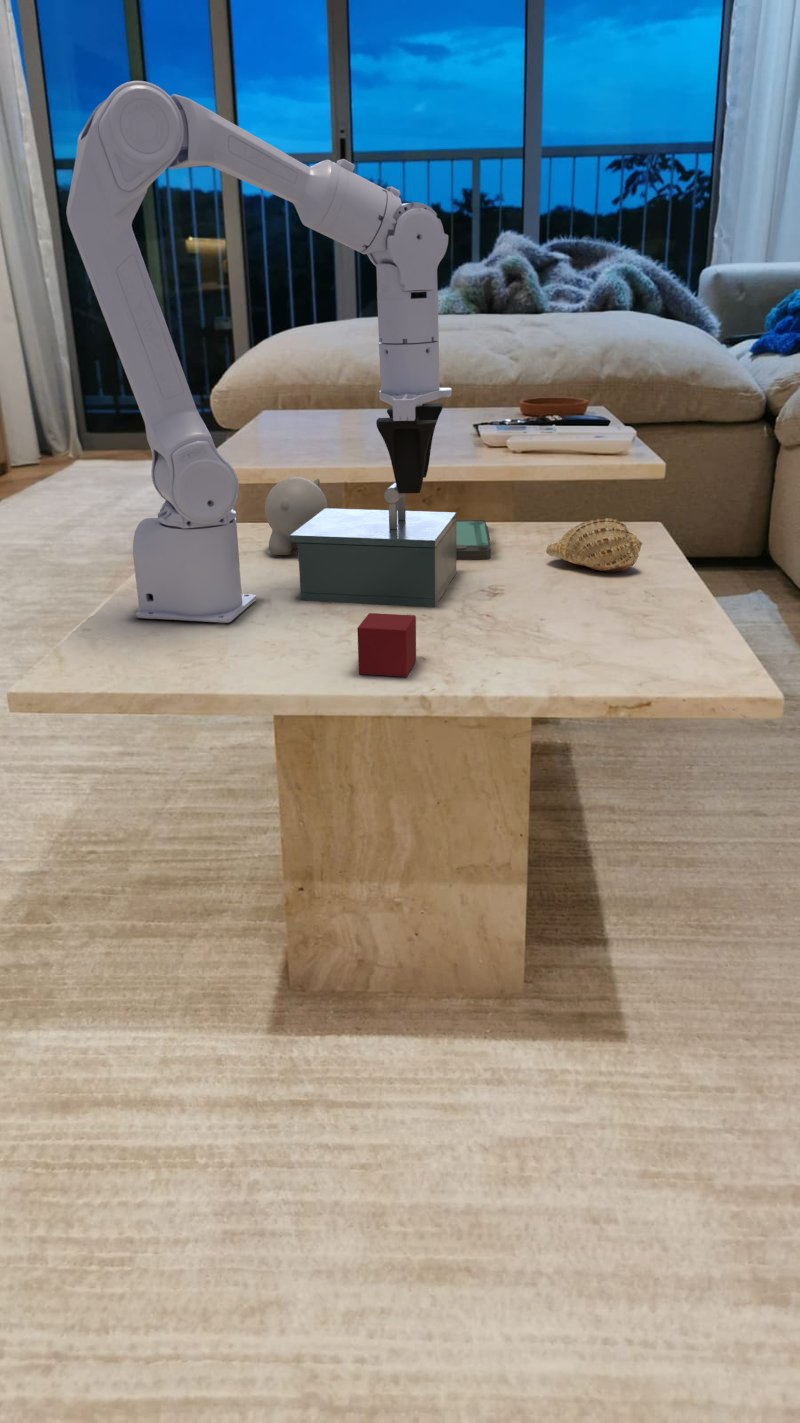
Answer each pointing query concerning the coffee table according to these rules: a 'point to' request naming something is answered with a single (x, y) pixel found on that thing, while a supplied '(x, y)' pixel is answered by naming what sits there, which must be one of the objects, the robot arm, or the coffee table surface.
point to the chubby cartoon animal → (291, 510)
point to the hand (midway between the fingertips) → (413, 484)
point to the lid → (377, 525)
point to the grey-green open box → (377, 572)
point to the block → (387, 644)
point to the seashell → (598, 545)
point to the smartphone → (472, 540)
